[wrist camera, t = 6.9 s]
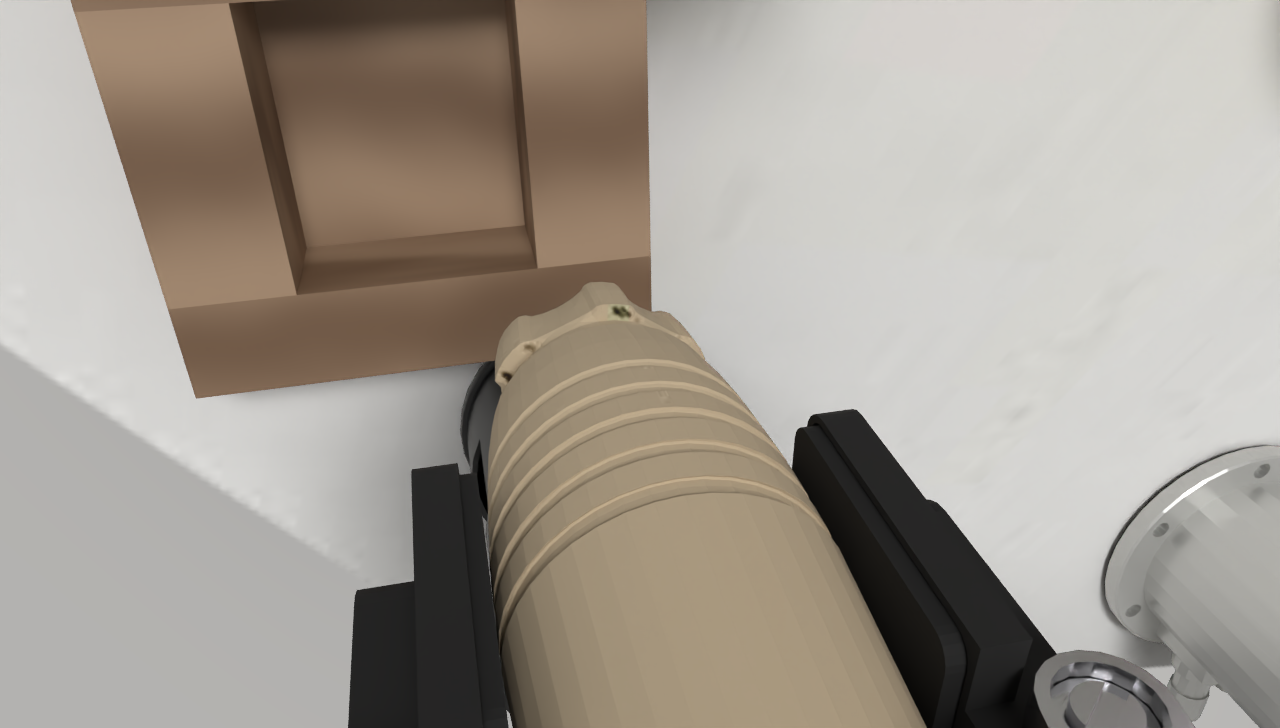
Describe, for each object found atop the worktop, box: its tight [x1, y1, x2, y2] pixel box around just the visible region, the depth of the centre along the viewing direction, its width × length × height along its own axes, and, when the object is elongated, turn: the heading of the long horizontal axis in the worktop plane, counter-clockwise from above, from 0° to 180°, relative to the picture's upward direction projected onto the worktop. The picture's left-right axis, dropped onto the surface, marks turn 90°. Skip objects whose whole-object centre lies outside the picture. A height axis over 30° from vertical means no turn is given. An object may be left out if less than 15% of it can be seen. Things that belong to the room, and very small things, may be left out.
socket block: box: [71, 0, 652, 398], centre depth 28 cm, size 14×14×4 cm
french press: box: [460, 361, 510, 713], centre depth 27 cm, size 12×9×23 cm
